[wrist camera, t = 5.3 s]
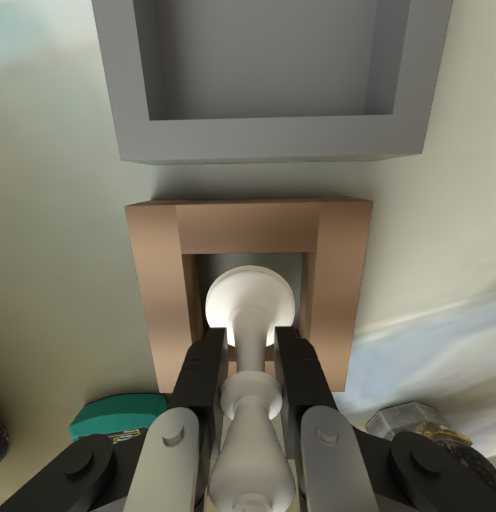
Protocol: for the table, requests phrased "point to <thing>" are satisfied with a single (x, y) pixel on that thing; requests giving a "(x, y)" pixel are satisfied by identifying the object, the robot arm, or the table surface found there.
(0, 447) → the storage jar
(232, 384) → the chess piece
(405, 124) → the parts tray
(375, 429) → the lantern
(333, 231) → the socket stand
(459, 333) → the table surface
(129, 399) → the digital multimeter
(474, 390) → the table surface
